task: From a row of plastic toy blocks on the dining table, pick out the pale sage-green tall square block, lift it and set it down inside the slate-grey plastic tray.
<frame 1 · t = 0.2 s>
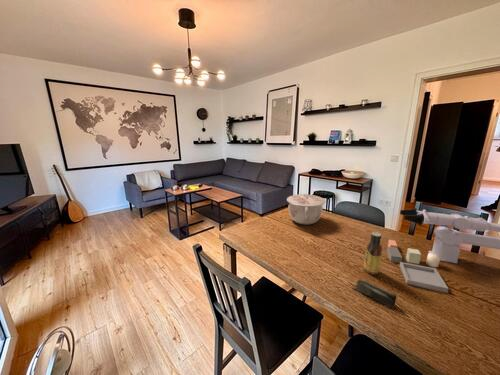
hand: (402, 214, 109), 21 cm above the table, tool horizontal, fingers open, 7 cm apart
cream round brick: (432, 264, 102), on the table
grey tray: (421, 278, 93), on the table
sauce bottle: (370, 271, 98), on the table
dark grey bar: (372, 297, 84), on the table
charcoal long brick: (393, 257, 108), on the table
terracotta slim brick: (391, 248, 117), on the table
chamber pot: (304, 221, 155), on the table
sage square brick: (412, 260, 105), on the table
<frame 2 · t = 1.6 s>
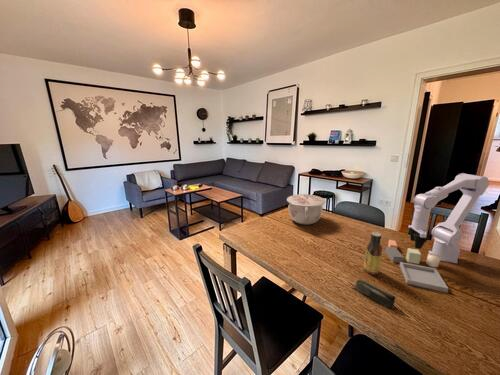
hand: (415, 244, 103), 9 cm above the table, tool pointing down, fingers open, 7 cm apart
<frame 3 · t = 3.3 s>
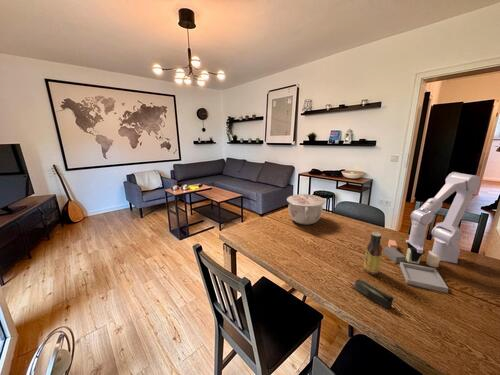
hand: (412, 258, 105), 1 cm above the table, tool pointing down, fingers closed on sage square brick, 4 cm apart
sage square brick: (412, 260, 105), on the table, touching gripper
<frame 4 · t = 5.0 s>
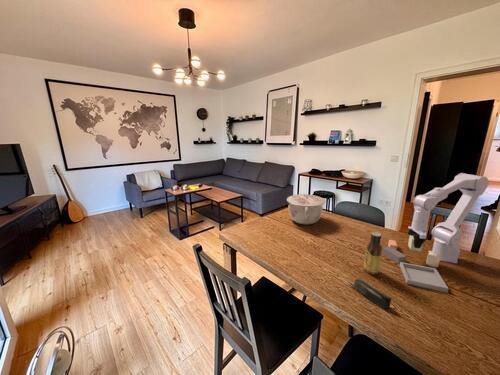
hand: (415, 245, 103), 9 cm above the table, tool pointing down, fingers closed on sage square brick, 4 cm apart
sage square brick: (414, 248, 103), point 7 cm above the table, touching gripper
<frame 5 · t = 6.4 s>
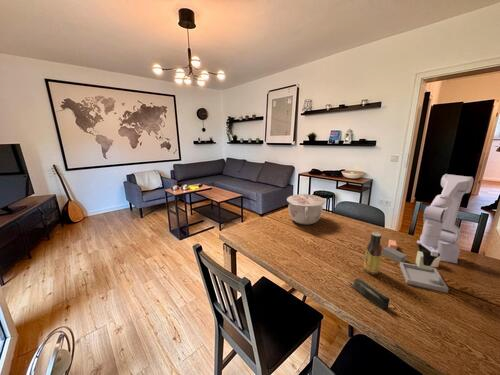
hand: (424, 261, 91), 8 cm above the table, tool pointing down, fingers closed on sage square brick, 4 cm apart
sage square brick: (423, 265, 91), point 6 cm above the table, touching gripper
when the fingers open (4 cm above the table, at t = 7.7 s): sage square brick stays where it is, resting on grey tray.
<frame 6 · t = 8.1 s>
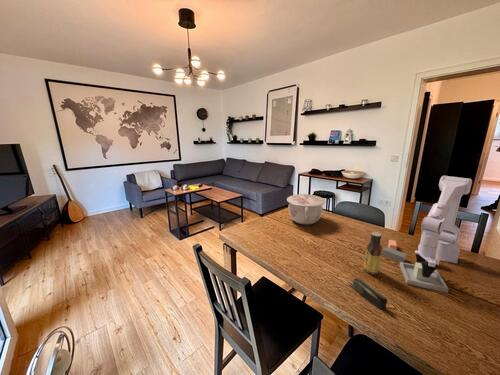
hand: (422, 271, 92), 4 cm above the table, tool pointing down, fingers open, 7 cm apart
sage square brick: (420, 276, 93), point 1 cm above the table, touching grey tray
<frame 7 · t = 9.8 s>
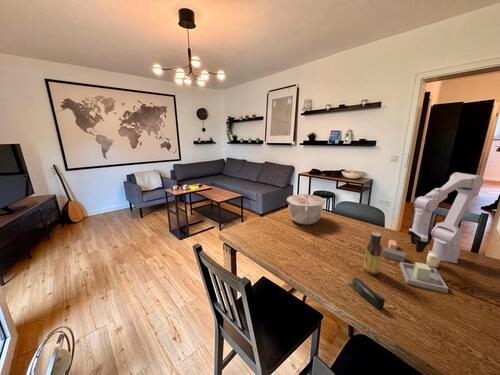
hand: (416, 247, 100), 9 cm above the table, tool pointing down, fingers open, 7 cm apart
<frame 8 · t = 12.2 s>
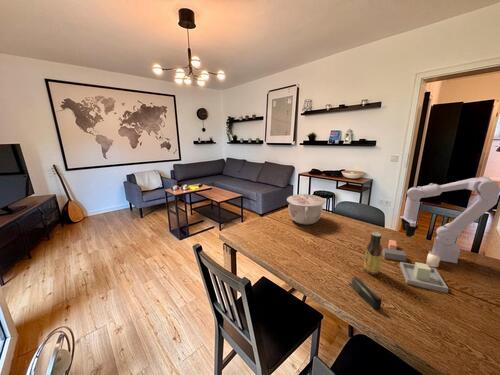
hand: (406, 233, 114), 9 cm above the table, tool pointing down, fingers open, 7 cm apart
at the end: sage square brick inside the target area on the grey tray (0.3 cm from its centre), point 0.6 cm above the grey tray's base; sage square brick tilted 0°; the gripper is holding nothing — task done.
